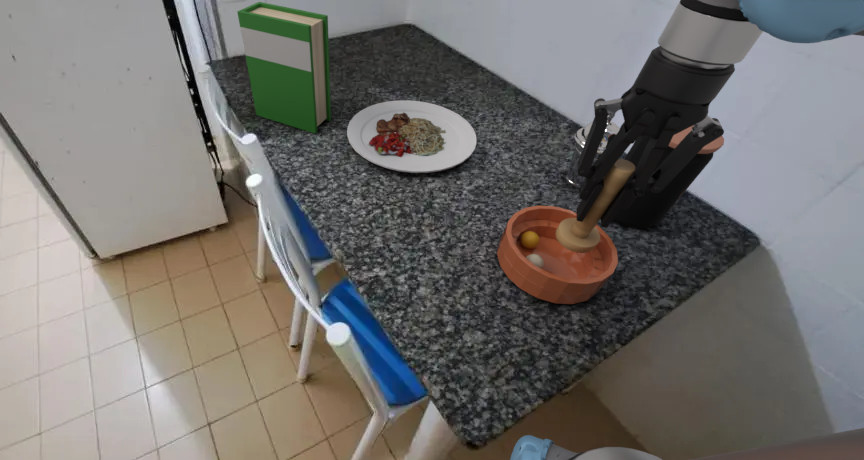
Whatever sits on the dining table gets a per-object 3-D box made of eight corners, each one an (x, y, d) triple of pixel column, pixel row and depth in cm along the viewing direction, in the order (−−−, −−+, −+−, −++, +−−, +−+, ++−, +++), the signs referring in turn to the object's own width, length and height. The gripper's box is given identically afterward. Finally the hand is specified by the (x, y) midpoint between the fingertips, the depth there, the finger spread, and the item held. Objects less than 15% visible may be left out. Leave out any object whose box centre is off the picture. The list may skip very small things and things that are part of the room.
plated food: (488, 125, 97) (492, 112, 95) (452, 195, 78) (456, 182, 76) (378, 97, 106) (379, 85, 104) (323, 153, 88) (323, 141, 85)
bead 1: (535, 254, 67) (542, 241, 65) (517, 248, 68) (523, 236, 66) (536, 243, 69) (542, 230, 67) (518, 238, 70) (524, 225, 68)
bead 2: (530, 277, 65) (546, 273, 62) (518, 267, 64) (534, 262, 62) (533, 263, 66) (549, 258, 64) (521, 253, 66) (536, 248, 63)
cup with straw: (573, 164, 86) (619, 76, 72) (609, 187, 81) (667, 97, 66) (546, 176, 83) (588, 86, 69) (582, 201, 78) (635, 109, 63)
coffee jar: (667, 234, 72) (738, 152, 59) (606, 227, 73) (663, 145, 60) (646, 196, 79) (706, 116, 66) (591, 190, 80) (639, 110, 67)
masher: (578, 259, 59) (631, 187, 48) (547, 233, 62) (589, 160, 51) (604, 242, 61) (660, 170, 50) (572, 218, 64) (618, 145, 53)
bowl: (601, 320, 59) (621, 298, 55) (490, 286, 63) (500, 263, 59) (597, 244, 70) (614, 220, 65) (502, 219, 74) (512, 195, 69)
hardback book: (331, 119, 98) (327, 15, 81) (315, 133, 93) (308, 26, 76) (273, 102, 104) (259, 1, 86) (256, 114, 99) (237, 11, 82)
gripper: (773, 53, 41) (647, 216, 58) (610, 31, 45) (536, 189, 61) (801, 83, 36) (654, 251, 53) (614, 55, 40) (533, 220, 57)
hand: (591, 218), depth 57 cm, fingers closed on masher, 3 cm apart
